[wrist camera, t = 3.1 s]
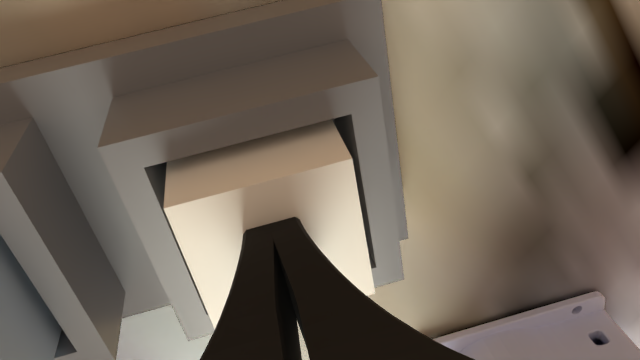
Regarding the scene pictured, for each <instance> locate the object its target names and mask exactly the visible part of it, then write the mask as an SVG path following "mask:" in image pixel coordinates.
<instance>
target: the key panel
mask: <svg viewBox="0 0 640 360" xmlns="http://www.w3.org/2000/svg"><path fill="white" fill-rule="evenodd" d="M330 119H332V121H333V123H334V125H335V126H336V128H337V130H338V132H339V134H340V136H341V138H342V140H343V142H344V144H345V145H346V147H347V149H348V151H349V153H350V155H351V157H352V160H353V165H354V171H355V177H356V183H357V189H358V195H359V201H360V206H361V212H362V218H363V224H364V230H365V236H366V242H367V247H368V253H369V259H370V265H371V271H372V277H373V283H374V288H376V287H379V286H383V285H386V284H390V283H393V282H397V281H400V280H404V273H403V266H402V258H401V250H400V242H399V241H401V240H404V239H408V231H407V222H406V214H405V205H404V196H403V187H402V179H401V170H400V161H399V152H398V144H397V135H396V126H395V117H394V109H393V100H392V91H391V82H390V73H389V65H388V56H387V47H386V38H385V30H384V21H383V12H382V3H381V0H282V1H278V2H274V3H270V4H266V5H261V6H257V7H253V8H249V9H245V10H241V11H236V12H232V13H228V14H224V15H220V16H216V17H211V18H207V19H203V20H199V21H195V22H191V23H186V24H182V25H178V26H174V27H170V28H166V29H161V30H157V31H153V32H149V33H145V34H141V35H136V36H132V37H128V38H124V39H120V40H116V41H111V42H107V43H103V44H99V45H95V46H91V47H86V48H82V49H78V50H74V51H70V52H66V53H61V54H57V55H53V56H49V57H45V58H41V59H36V60H32V61H28V62H24V63H20V64H15V65H11V66H7V67H3V68H0V234H1V236H2V237H3V239H4V241H5V242H6V244H7V245H8V247H9V248H10V250H11V251H12V253H13V254H14V256H15V257H16V259H17V260H18V262H19V263H20V265H21V267H22V268H23V270H24V271H25V273H26V274H27V276H28V277H29V279H30V280H31V282H32V283H33V285H34V286H35V288H36V289H37V291H38V293H39V294H40V296H41V297H42V299H43V300H44V302H45V303H46V305H47V306H48V308H49V309H50V311H51V312H52V314H53V315H54V317H55V319H56V320H57V322H58V323H59V325H60V326H61V328H62V331H61V334H60V338H59V342H58V346H57V349H56V353H55V357H54V360H116V355H117V348H118V341H119V334H120V327H121V320H122V318H125V317H128V316H132V315H136V314H139V313H143V312H146V311H150V310H153V309H157V308H161V307H164V306H168V305H172V307H173V309H174V312H175V314H176V316H177V318H178V320H179V322H180V324H181V326H182V328H183V331H184V333H185V335H186V337H187V339H188V341H190V340H193V339H197V338H200V337H204V336H207V335H211V334H213V333H214V330H215V329H214V327H213V324H212V322H211V320H210V317H209V315H208V312H207V310H206V308H205V305H204V303H203V301H202V298H201V296H200V294H199V291H198V289H197V286H196V284H195V282H194V279H193V277H192V275H191V272H190V270H189V268H188V265H187V263H186V261H185V258H184V256H183V253H182V251H181V249H180V246H179V244H178V242H177V239H176V237H175V235H174V232H173V230H172V227H171V225H170V223H169V220H168V218H167V216H166V213H165V211H164V194H165V180H166V166H167V162H168V161H172V160H176V159H179V158H183V157H187V156H191V155H195V154H199V153H203V152H207V151H210V150H214V149H218V148H222V147H226V146H230V145H234V144H237V143H241V142H245V141H249V140H253V139H257V138H261V137H264V136H268V135H272V134H276V133H280V132H284V131H288V130H292V129H295V128H299V127H303V126H307V125H311V124H315V123H319V122H322V121H326V120H330Z"/></svg>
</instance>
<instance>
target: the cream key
mask: <svg viewBox="0 0 640 360" xmlns="http://www.w3.org/2000/svg"><path fill="white" fill-rule="evenodd" d="M164 211H165V213H166V216H167V218H168V220H169V223H170V225H171V227H172V230H173V232H174V235H175V237H176V239H177V242H178V244H179V246H180V249H181V251H182V253H183V256H184V258H185V261H186V263H187V265H188V268H189V270H190V272H191V275H192V277H193V279H194V282H195V284H196V286H197V289H198V291H199V294H200V296H201V298H202V301H203V303H204V305H205V308H206V310H207V312H208V315H209V317H210V320H211V322H212V324H213V327H214V329H215V328H216V326H217V323H218V321H219V319H220V316H221V313H222V311H223V308H224V306H225V303H226V300H227V298H228V295H229V292H230V289H231V286H232V282H233V279H234V275H235V272H236V269H237V265H238V261H239V256H240V252H241V246H242V240H243V234H244V232H245V231H246V230H248V229H251V228H255V227H259V226H262V225H266V224H270V223H273V222H277V221H281V220H284V219H288V218H292V217H296V218H298V219H300V221H301V223H302V225H303V227H304V229H305V230H306V232H307V233H308V235H309V236H310V238H311V239H312V240H313V241H314V243H315V244H316V245H317V247H318V248H319V249H320V250H321V252H322V253H323V254H324V255H325V256H326V257H327V258H328V259H329V260H330V262H331V263H332V264H333V265H334V266H335V267H336V268H337V269H338V270H339V271H340V272H341V273H342V274H343V275H344V276H345V277H346V278H347V279H348V280H349V281H350V282H351V283H352V284H354V285H355V286H356V287H357V288H358V289H359V290H360V291H361V292H363V293H364V294H365V295H366V296H368V295H371V294H375V289H374V283H373V277H372V271H371V265H370V259H369V253H368V247H367V242H366V236H365V230H364V224H363V218H362V212H361V206H360V201H359V195H358V189H357V183H356V177H355V171H354V165H353V160H352V157H351V155H350V153H349V151H348V149H347V147H346V145H345V144H344V142H343V140H342V138H341V136H340V134H339V132H338V130H337V128H336V126H335V125H334V123H333V121H332V119H330V120H326V121H322V122H319V123H315V124H311V125H307V126H303V127H299V128H295V129H292V130H288V131H284V132H280V133H276V134H272V135H268V136H264V137H261V138H257V139H253V140H249V141H245V142H241V143H237V144H234V145H230V146H226V147H222V148H218V149H214V150H210V151H207V152H203V153H199V154H195V155H191V156H187V157H183V158H179V159H176V160H172V161H168V162H167V166H166V180H165V194H164Z"/></svg>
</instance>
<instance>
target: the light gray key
mask: <svg viewBox="0 0 640 360" xmlns="http://www.w3.org/2000/svg"><path fill="white" fill-rule="evenodd" d="M61 331H62V328H61V326H60V325H59V323H58V322H57V320H56V319H55V317H54V315H53V314H52V312H51V311H50V309H49V308H48V306H47V305H46V303H45V302H44V300H43V299H42V297H41V296H40V294H39V293H38V291H37V289H36V288H35V286H34V285H33V283H32V282H31V280H30V279H29V277H28V276H27V274H26V273H25V271H24V270H23V268H22V267H21V265H20V263H19V262H18V260H17V259H16V257H15V256H14V254H13V253H12V251H11V250H10V248H9V247H8V245H7V244H6V242H5V241H4V239H3V237H2V236H1V234H0V360H54V357H55V353H56V349H57V346H58V342H59V338H60V334H61Z"/></svg>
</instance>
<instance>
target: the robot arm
mask: <svg viewBox="0 0 640 360" xmlns="http://www.w3.org/2000/svg"><path fill="white" fill-rule="evenodd" d="M604 307H605V297H604V296H603V295H602V294H601V293H600V292H597V291H596V292H591V293H587V294H584V295H580V296H577V297H574V298H570V299H567V300H563V301H560V302H557V303H553V304H550V305H546V306H543V307H540V308H536V309H533V310H529V311H526V312H523V313H519V314H516V315H513V316H509V317H506V318H502V319H499V320H496V321H492V322H489V323H485V324H482V325H479V326H475V327H472V328H468V329H465V330H462V331H458V332H455V333H452V334H448V335H445V336H441V337H438V338H435V339H431V338H429V337H427V336H425V335H423V334H422V333H420V332H418V331H417V330H415V329H414V328H412V327H410V326H409V325H407V324H406V323H404V322H402V321H401V320H399V319H398V318H396V317H394V316H393V315H391V314H390V313H389V312H387V311H386V310H385V309H383V308H382V307H380V306H379V305H378V304H376V303H375V302H374V301H373V300H371V299H370V298H369V297H368V296H366V295H365V294H364V293H363V292H361V291H360V290H359V289H358V288H357V287H356V286H355V285H354V284H352V283H351V282H350V281H349V280H348V279H347V278H346V277H345V276H344V275H343V274H342V273H341V272H340V271H339V270H338V269H337V268H336V267H335V266H334V265H333V264H332V263H331V262H330V260H329V259H328V258H327V257H326V256H325V255H324V254H323V253H322V252H321V250H320V249H319V248H318V247H317V245H316V244H315V243H314V241H313V240H312V239H311V238H310V236H309V235H308V233H307V232H306V230H305V229H304V227H303V225H302V223H301V221H300V219H298V218H296V217H292V218H288V219H284V220H281V221H277V222H273V223H270V224H266V225H262V226H259V227H255V228H251V229H248V230H246V231H245V232H244V234H243V240H242V246H241V252H240V256H239V261H238V265H237V269H236V272H235V275H234V279H233V282H232V286H231V289H230V292H229V295H228V298H227V300H226V303H225V306H224V308H223V311H222V313H221V316H220V319H219V321H218V323H217V326H216V328H215V330H214V333H213V335H212V337H211V339H210V341H209V343H208V345H207V347H206V349H205V351H204V353H203V355H202V357H201V359H200V360H302V357H301V350H300V342H299V334H298V327H297V321H298V324H299V327H300V330H301V332H302V335H303V338H304V341H305V344H306V347H307V350H308V354H309V358H310V360H640V349H639V348H638V347H637V346H636V345H635V344H634V343H633V341H632V340H631V339H630V338H629V337H628V336H627V335H626V334H625V333H624V331H623V330H622V329H621V328H620V327H619V326H618V325H617V324H616V323H615V321H614V320H613V319H612V318H611V317H610V316H609V315H608V314H607V313H606V311H605V310H604ZM296 318H297V319H296Z"/></svg>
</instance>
